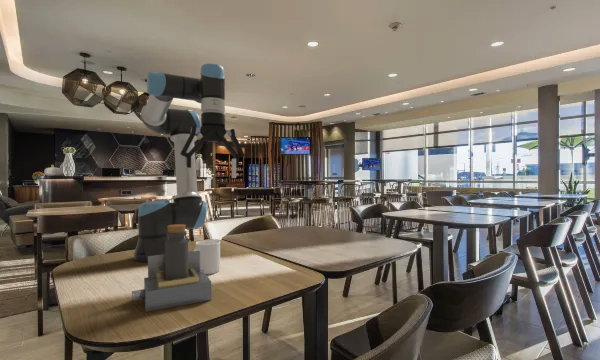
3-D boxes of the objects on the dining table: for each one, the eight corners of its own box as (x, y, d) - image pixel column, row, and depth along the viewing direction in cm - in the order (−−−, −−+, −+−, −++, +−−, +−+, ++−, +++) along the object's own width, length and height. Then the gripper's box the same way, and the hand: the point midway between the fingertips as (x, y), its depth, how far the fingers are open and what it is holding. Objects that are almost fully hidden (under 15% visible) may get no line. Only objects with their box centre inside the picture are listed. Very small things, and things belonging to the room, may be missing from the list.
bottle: (182, 275, 92) (182, 223, 92) (192, 279, 88) (191, 225, 88) (162, 279, 88) (161, 225, 88) (170, 284, 84) (170, 227, 84)
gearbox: (132, 297, 88) (131, 257, 88) (202, 286, 97) (202, 250, 97) (132, 314, 78) (131, 269, 78) (211, 300, 87) (211, 259, 86)
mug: (198, 279, 104) (198, 247, 104) (181, 275, 108) (181, 245, 108) (225, 270, 114) (225, 241, 114) (208, 266, 118) (208, 238, 118)
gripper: (173, 107, 96) (174, 178, 96) (253, 114, 107) (253, 177, 108) (171, 112, 102) (171, 178, 103) (246, 118, 114) (246, 177, 114)
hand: (213, 178), depth 105 cm, fingers open, 13 cm apart
